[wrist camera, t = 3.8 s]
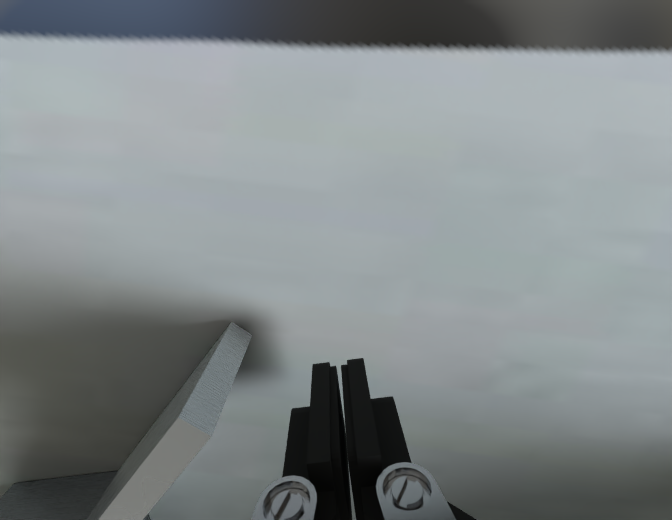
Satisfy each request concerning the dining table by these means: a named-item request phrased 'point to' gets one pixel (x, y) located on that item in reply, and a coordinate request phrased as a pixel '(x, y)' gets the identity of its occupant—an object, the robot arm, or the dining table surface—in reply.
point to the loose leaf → (175, 433)
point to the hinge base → (55, 498)
